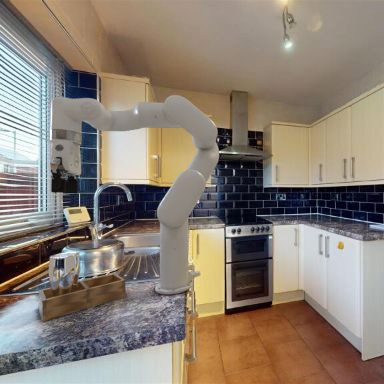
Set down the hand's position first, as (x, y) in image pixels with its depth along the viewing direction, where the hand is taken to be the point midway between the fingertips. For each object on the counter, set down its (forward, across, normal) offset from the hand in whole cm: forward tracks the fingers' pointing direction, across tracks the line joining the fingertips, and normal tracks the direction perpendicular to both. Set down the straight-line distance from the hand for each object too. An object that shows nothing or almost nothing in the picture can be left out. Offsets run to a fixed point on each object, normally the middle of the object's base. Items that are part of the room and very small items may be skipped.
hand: (65, 192), depth 72 cm
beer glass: (+33, -6, -2) cm, 34 cm away
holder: (+34, -4, -6) cm, 34 cm away
